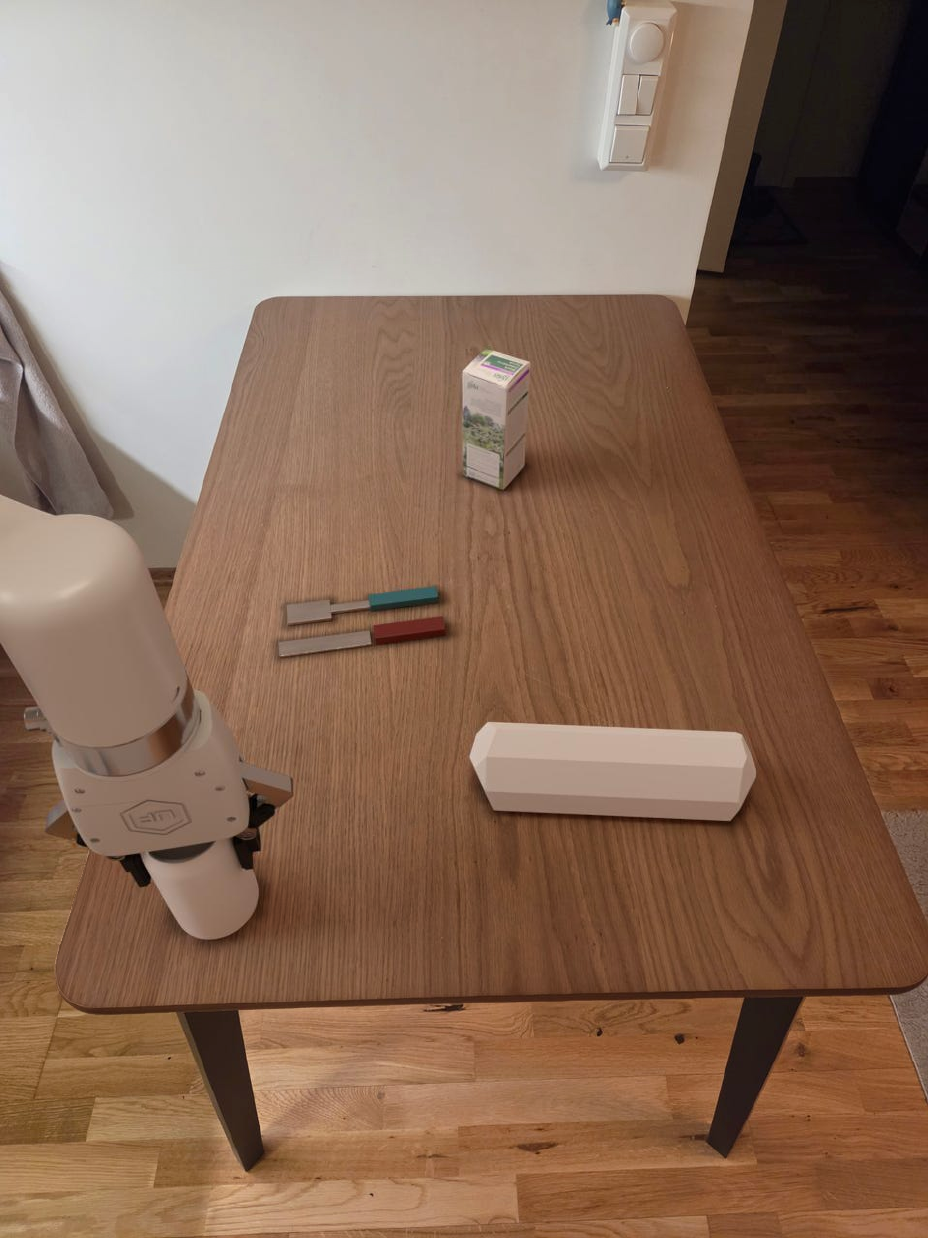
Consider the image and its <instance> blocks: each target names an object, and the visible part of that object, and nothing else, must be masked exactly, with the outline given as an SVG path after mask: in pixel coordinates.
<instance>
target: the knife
mask: <svg viewBox="0 0 928 1238" xmlns="http://www.w3.org/2000/svg"><path fill="white" fill-rule="evenodd" d="M372 628H373V634H374V635H373V636H374V641H375V642H374V643H375V645H376V646H377V645H383V644H390V643H392V644H393V643H399V642H406V641H414V640H421V639H429V638H436V637H444V636H446V624H445V621H444V616H443V615H441V616H433V617H426V618H417V619H410V620H402V621H396V622H387V623H386V622H385V623H379V624H373V625H372ZM372 645H373V644H372V637H371V630H370V629H369V630H362V631H354V632H346V633H339V634H330V635H325V636H323V635H322V636H316V637H309V638H301V639H300V638H299V639H293V640H285V641H279V642H278V657H279V658H287V657H296V656H305V655H311V654H318V653H327V652H333V651H340V650H348V649H355V648H364V647H371V646H372Z"/></svg>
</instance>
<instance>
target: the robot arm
mask: <svg viewBox="0 0 928 1238" xmlns="http://www.w3.org/2000/svg"><path fill="white" fill-rule="evenodd" d="M0 645H1V646H2V648H3V649H4V652H5V653H6V655H7V656H8V659H10V661H11V663H12V665H13V666H14V668H15V669H16V671H17V672H18V674H19V676H20V677H21V679H22V681H23V683H24V684H25V686H26V688H27V689H28V691H29V692H30V694H31V695H32V699H34V701H35V703H36V705H35V706H29V707H26V708H25V709H24V712H23V723H24V726H25V729H26V730H27V732H35V731H41V732H43V733H44V732H46V733H47V734H50V735H52V738H53V739H54V740H53V743H52V747H51V757H52V763H53V768H54V769H53V770H54V772H55V776H56V780H57V783H58V786H59V789H60V791H61V795H62V798H63V799H62V800H61V801H60V802H59V803H57V804H56V805H55V806H54V807H53V808H52V809H50V810H49V812H47V815H46V820H45V826H44V833H45V834H47V835H49V836H54V837H58V838H62V839H64V840H68V841H71V840H75V842H76V844H77V845H78V846H81V847H84V848H88V849H90V851H92V852H93V853H95V854H97V855H100V856H104V857H106V859H107V860H109V861H113V862H119V864H120V865H121V867H122V868H123V870H124V872H125V873H130V875H131V876H132V878H133V879H134V881H135V883H136V885H137V886H138V887H139V888H145V887H149V885H151V883H152V877H151V876H150V874H149V872H148V870H147V869H146V867H145V865H144V863H143V861H142V858H141V855H140V853H144V852H150V851H157V850H163V849H170V848H176V847H182V846H188V845H194V844H200V843H206V842H212V841H217V840H222V839H227V838H230V837H233V847H234V849H235V852H236V854H237V857H238V859H239V862H240V864H241V866H242V869H245V870H250V869H253V870H254V853H257V852H261V850H262V839H261V832H260V827H261V826H262V825H264V824H265V823H266V822H267V821H268V820H270V819H272V818H273V817H274V816H275V814H276V810H277V809H278V808H281V807H283V805H285V804H286V803H287V802H289V801H290V800H291V799H292V798H293V797H294V780H293V777H292V776H290V775H287V774H283V773H281V772H277V771H273V770H270V769H267V768H264V767H260V766H257V765H254V764H250V763H247V762H246V761H245V758H244V754H243V753H242V750H241V748H240V746H239V743H238V742H237V740H236V738H235V736H234V734H233V732H232V730H231V728H230V726H229V725H228V723H227V721H226V720H225V719H224V717H223V715H222V714H221V713H220V711H219V710H218V709H217V707H216V706H215V704H214V703H213V702H212V701H211V700H210V699H209V698H208V696H207V695H206V694H205V693H204V691H202V690H199V689H194V688H193V685H192V683H191V680H190V678H189V674H188V672H187V668H186V666H185V664H184V661H183V659H182V656H181V654H180V650H179V648H178V645H177V642H176V640H175V637H174V634H173V632H172V629H171V626H170V624H169V621H168V618H167V615H166V614H165V610H164V608H163V605H162V602H161V599H160V597H159V594H158V591H157V589H156V586H155V584H154V580H153V578H152V575H151V572H150V570H149V567H148V565H147V562H146V560H145V557H144V555H143V553H142V550H141V549H140V546H139V545H138V543H137V542H136V540H135V539H134V538H133V536H131V535H130V533H128V532H127V531H126V530H125V529H124V528H123V527H121V526H120V525H119V524H116V523H115V522H113V521H110V520H108V519H105V518H104V517H101V516H96V515H92V514H84V513H82V514H81V513H69V514H68V513H67V514H58V515H55V514H52V513H48V512H46V511H43V510H40V509H39V508H38V509H37V508H34V507H32V506H30V505H27V504H24V503H22V502H20V501H17V500H15V499H12V498H9V497H7V496H5V495H3V494H0ZM248 792H249V793H248ZM250 793H253V794H252V795H250Z"/></svg>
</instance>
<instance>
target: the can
mask: <svg viewBox="0 0 928 1238" xmlns="http://www.w3.org/2000/svg"><path fill="white" fill-rule="evenodd" d="M140 855H141V858H142V861H143V863H144V865H145V867H146V869H147V870H148V872H149V874H150V876H151V880H152V881H153V883H154V884H155V886H156V888H157V889H158V891H159V893H160V895H161V897H162V898H163V900H164V902H165V903H166V905H167V907H168V909H169V910H170V912H171V914H172V916H173V917H174V919H175V920H176V921H177V924H178V925H179V926H180V927H181V929H182V930H183V931H184V932H185V933H187V934H188V935H189V936H192V937H193V938H196V939H200V940H210V941H211V940H218V939H222V938H224V937H228V936H230V935H232V934H234V933H236V932H237V931H238V930H240V929H241V928H242V927H243V926H244V925H246V923H247V922H248V921H249V920H250V918H251V917H252V916H253V914H254V912H255V910H256V909H257V906H258V902H259V898H260V897H259V895H260V889H259V884H258V880H257V877H256V873H255V872H254V868H253V869H250V870H245V869H242V866H241V864H240V862H239V859H238V857H237V854H236V852H235V849H234V847H233V837H230V838H227V839H222V840H217V841H212V842H206V843H200V844H194V845H188V846H182V847H176V848H170V849H163V850H157V851H150V852H144V853H140Z"/></svg>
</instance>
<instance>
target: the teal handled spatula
mask: <svg viewBox="0 0 928 1238" xmlns="http://www.w3.org/2000/svg"><path fill="white" fill-rule="evenodd" d="M437 603H439V594H438V590H437V586H436V585H434V586H425V587H416V588H409V589H401V590H394V591H386V592H377V593H370V594H368V599H366V600H358V601H351V602H343V603H335V604H331V600H330V598H329V599H322V600H314V601H313V600H312V601H306V602H298V603H291V604H286V615H287V616H286V617H287V626H294V625H295V626H296V625H305V624H310V623H312V624H313V623H318V622H326V621H332V620H333V617H332V615H336V614H344V613H351V612H352V613H353V612H360V611H366V610H367V611H368V610H370V612H375V611H376V612H377V611H384V610H390V609H398V608H406V607H414V606H421V605H422V606H423V605H430V604H437Z"/></svg>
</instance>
